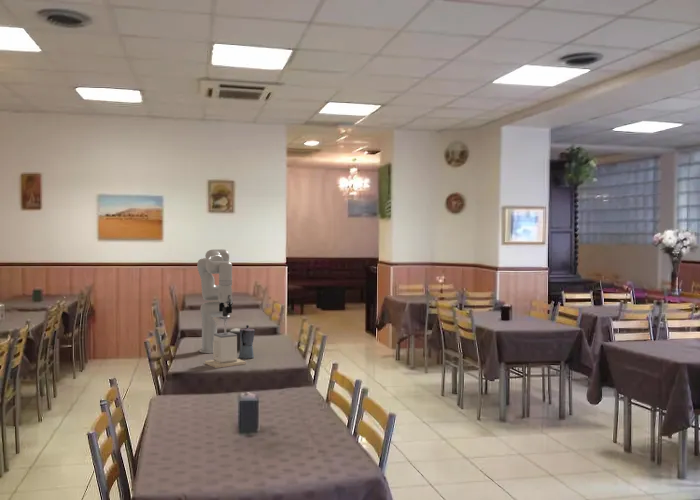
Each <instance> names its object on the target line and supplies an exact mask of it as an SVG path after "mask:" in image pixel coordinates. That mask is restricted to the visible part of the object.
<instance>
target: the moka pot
mask: <svg viewBox="0 0 700 500" xmlns="http://www.w3.org/2000/svg"><path fill="white" fill-rule="evenodd" d="M239 336H240V348H239V349H240V350H239V355H238V359H242V360H243V359H244V360H246V359H247V360H248V359H254V358H255V357H254V356H255V355H254V354H255V353H254V346H253V345H254V339H255V329H254V328H249V325H248V324H247V325H246V326H245V327H243V328H240V329H239Z"/></svg>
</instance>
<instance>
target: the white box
mask: <svg viewBox="0 0 700 500" xmlns="http://www.w3.org/2000/svg"><path fill="white" fill-rule="evenodd" d="M212 357H213V359H208V360H204V365H208V366H210V367H212V368H215V369H217V368H219V369H220V368H226V367H234V366H235V367H236V366H242V365H246V364H247V361H245V360H243V359H241V358H239V357H238V334H236V333H233V332H230V331H228V332H227V331H226V334H225V335H224V332H219V333H218V332H217V333H216V334H214V341H213V353H212Z"/></svg>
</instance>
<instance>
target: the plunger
mask: <svg viewBox="0 0 700 500" xmlns="http://www.w3.org/2000/svg"><path fill="white" fill-rule="evenodd" d="M220 318H222V319H223V320H224V323H223V325H224V326H223V327H224V328H223V329H224V332H223V333H224V335H225V334H226V332H227V319H228V318H231V315H229V313H226V307H223V315H221V317H220Z"/></svg>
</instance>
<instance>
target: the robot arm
mask: <svg viewBox="0 0 700 500" xmlns="http://www.w3.org/2000/svg"><path fill="white" fill-rule="evenodd" d="M196 264H197V267H196V268H197V271H198V274H199V277H200V280H201V281H200V284H201V285H200V286H201V296H202V299H203V300H204V301H206V302H203V303H202V304H201V305H200V310H199V311H200V317H201V348H200V349H199V352H200V353H202V354H213V341H214V334H216V333H218V323H217V321H216V320H215V319H214V318H218V317H219V318H221V315H223V307H226V313H228V314H232V313H233V301H234V299H233V288H232V286H233V263H232V262H230V253H229V251H228V250H226V249H223V248H222V249H209V250H207V251H206V253H205V257H203V258H201V259H198V261H197V263H196ZM214 274H215V275H217V274H218V285H217V284H216V281H215V277H214ZM207 301H209V302H207ZM211 301H212V302H211Z"/></svg>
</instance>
